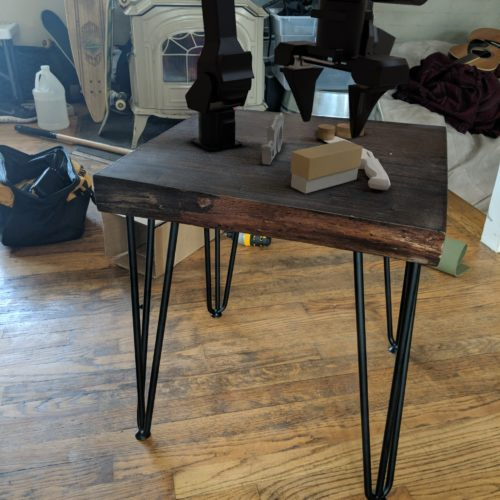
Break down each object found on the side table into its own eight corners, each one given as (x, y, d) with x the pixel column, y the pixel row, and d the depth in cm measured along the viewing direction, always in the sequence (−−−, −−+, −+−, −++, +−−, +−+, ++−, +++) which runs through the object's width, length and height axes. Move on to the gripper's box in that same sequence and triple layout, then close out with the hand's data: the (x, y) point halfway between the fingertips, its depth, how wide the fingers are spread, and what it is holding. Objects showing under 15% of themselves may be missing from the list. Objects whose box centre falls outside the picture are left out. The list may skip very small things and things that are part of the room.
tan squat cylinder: (313, 136, 91) (314, 125, 90) (324, 134, 93) (326, 123, 92) (326, 140, 89) (327, 129, 88) (337, 138, 91) (339, 126, 90)
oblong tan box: (289, 186, 71) (291, 151, 69) (340, 172, 77) (344, 140, 74) (306, 194, 69) (309, 158, 66) (358, 180, 74) (362, 146, 72)
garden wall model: (271, 166, 78) (273, 127, 76) (259, 165, 79) (261, 126, 76) (284, 143, 89) (286, 109, 86) (274, 142, 89) (275, 108, 86)
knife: (317, 126, 96) (359, 127, 96) (316, 135, 97) (358, 136, 96) (335, 178, 69) (393, 179, 69) (334, 190, 70) (391, 191, 70)
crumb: (343, 133, 96) (345, 122, 95) (355, 131, 97) (356, 120, 96) (355, 137, 93) (357, 126, 93) (367, 134, 95) (368, 124, 94)
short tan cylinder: (332, 135, 94) (333, 124, 93) (343, 133, 96) (345, 122, 95) (344, 139, 92) (345, 128, 91) (355, 137, 93) (357, 126, 92)
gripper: (450, 5, 59) (424, 137, 67) (335, -5, 72) (324, 107, 80) (386, 6, 53) (366, 151, 61) (274, -4, 66) (268, 116, 74)
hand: (329, 129), depth 69 cm, fingers open, 9 cm apart
